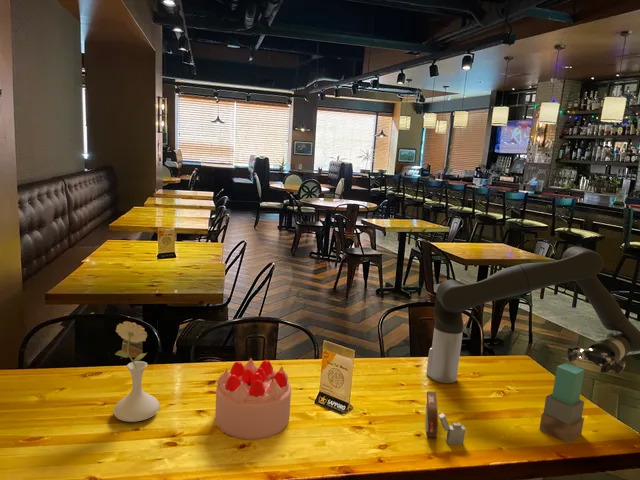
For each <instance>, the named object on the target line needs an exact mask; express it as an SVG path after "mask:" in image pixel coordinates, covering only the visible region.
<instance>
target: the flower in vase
mask: <svg viewBox="0 0 640 480" xmlns="http://www.w3.org/2000/svg"><path fill="white" fill-rule="evenodd" d="M115 328H116V329H115V332H116V333H117V335H118V336H120V337H121V339H124V340H125V341H127V348H126V351H123V350H118V351H116V352H115V353H114V355H115V356H119V357H123V358H128V357H129V359H130V361H131V362H129V363H127V364H126V368H127V370H129V373H130V375H131V383H132V385H131V386H132V388H131V391H130V393H128V394H127V395H125V396H124V397H123V398H121V399H120V400H119V401H118V402H117V403H116V404H115V406H114V408H113V415H114V416H115V418H116V419H118V420H120V421H122V422H129V423H132V422H133V423H134V422H140V421H144V420H147V419H150V418H151V417H153V416H155V415H156V414H157V412H158V411H159V409H160V407H161V406H160V402H159V400H158V399H157V398H156V397H154V395H151V394H149V393H147V392H146V391H144V390H143V387H142V381H143V374H144V371H145V370H146V368H147V366H148V362H146V361H142V359H143V358H144V357H145V356H146V355H147V352H146V353H140V354H138V355H137V356H136V357H135V358H134V359H133V358H132V355H130V351H129V350H130V349H129V348H130V342H131V343H137V344H138V343H142V342H146V339H147V337H148V333H147V331H145V330H146V329H145V327H142V325H137V323H136V322H132V323H131V322H130V321H123V322H122V323H118V324H117V325H116V327H115Z"/></svg>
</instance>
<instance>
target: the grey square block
mask: <svg viewBox="0 0 640 480" xmlns="http://www.w3.org/2000/svg"><path fill="white" fill-rule="evenodd" d="M552 394H553V392H552V393H551V394H549V395H546V396H545V401H544V406H543V407H544V408H543V412H542V413H544V414H546V415H548V416H550V417H553V418H555V419H557V420H559V421H561V422H563V423H565V424H567V425H571V424H572V423H574V422H576V421H578V420H579V419H581V418H582V417H583V411H584V407H585V401H584V400H582V399H579V401H578V402H576V403H574V404H572V405H568V404H566V403H564V402H562V401H560V400H557V399H555V398H553V397H552Z"/></svg>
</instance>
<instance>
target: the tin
mask: <svg viewBox="0 0 640 480" xmlns="http://www.w3.org/2000/svg"><path fill="white" fill-rule="evenodd" d="M437 394H438V393H437V391H431V390H430V391H429V390H428V391H426V405H425V433H426V436H427V437H432V438H433V437H434V438H437V436H438V435H437V434H438V419H439V416H438V415H439V413H438V411H439V409H438V398H437Z"/></svg>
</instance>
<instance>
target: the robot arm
mask: <svg viewBox="0 0 640 480" xmlns="http://www.w3.org/2000/svg"><path fill="white" fill-rule="evenodd" d="M604 263H605V261H604V259H603V257H602V256H601V255H600V254H599V253H597V252H595V250H592V249H588V248H587V247H586V248H585V247H582V246H571V247H569V248H567V249H566V250H565V251H564V252H563V254H562V256H561V259H558V260H555V261H544V262H542V261H540V262H525V263H521V264H520V263H519V264H515V265H512V266H508V267H506V268H503V269H500V270H498V271H497V272H495V273H493V274H491V275H489V276H488V277H487V278H484V279H482V280H480V281H477V282H471V283H467V284H461V283H460V282H458V280H455V279H446V280H444V281H442V282H441V283H440V284H439V285H438V286H437V289H436V293H435V301H434V309H433V310H434V314H433V317H434V326H433V327H434V328H433V334H432V335H433V336H432V344H431V347H430V348H429V350H428V356H427V366H426V376H428V377H429V378H430V379H432V380H433V381H436V382H438V383H441V384H454V383H455V382H456V381H457V380H458V372H459V371H458V370H459V365H460V364H459V363H460V356H461V349H462V341H463V340H462V339H463V331H464V326H465V325H464V320H463V312H464V311H468V310H470V309H473V308H474V307H478V306H481V305H484V304H486V303H489V302H495V301H498V300H503V299H507V298H510V297H514V296H516V297H517V296H519V295H523V294H527V293H531V292H533V291H536V290H541V289H545V288H548V287H551V286H556V285H558V284H559V285H560V284H563V283H567V282H576V284H577V285H578V287H579V288H580V289H581V291H582V292H583V294H584V295H585V297H586V298H587V300H588V301H589V303H590V305H591V306H592V308H593V310H594V311H595V313H596V315H597V317H598V319H599V321H600V322H601V324H602V325H603V327H604V328H605V329H606V330H608V331H611V332H608V333H607V335H606V337H605V338H602V339H600V340H597V341H596V342H593V343H592V344H591V345H590V346H589V347H588V348H581V345H579V344H574V345H572V346H569V347H567V352H566V356H567V360H568V362H571V363H572V362H574V361H576V360H579V361H581V362H590V363H593V364H594V365H596V366H597V367H600V368H601V369H600V373H601V374H605V373H606V374H607V373H610V372H612V371H614V373H616V374H620V373H621V372H623V371H624V370H625V367H626V362H627V361H626V360H625V359H623V358H625V357H626V356H627V355H628V354H629V353H633V352H640V330H639V329H638V328H637V327H636V326H635V325H634V324H633V323H632V322H631V321H630V320H629V319H628V318H627V317H626V315H625V313H624V312H623V310H622V308H621V307H620V304H619V303H618V302H617V301H616V299H615V298H614V296H613V295H612V293H610V291H608V289H607V288H606V287H605V286H604V285H603V284H602V282H601V281H600V279H599V278H598V275H599V274H600V273H601V271H602V270H603V269H604V268H603V267H604Z"/></svg>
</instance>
